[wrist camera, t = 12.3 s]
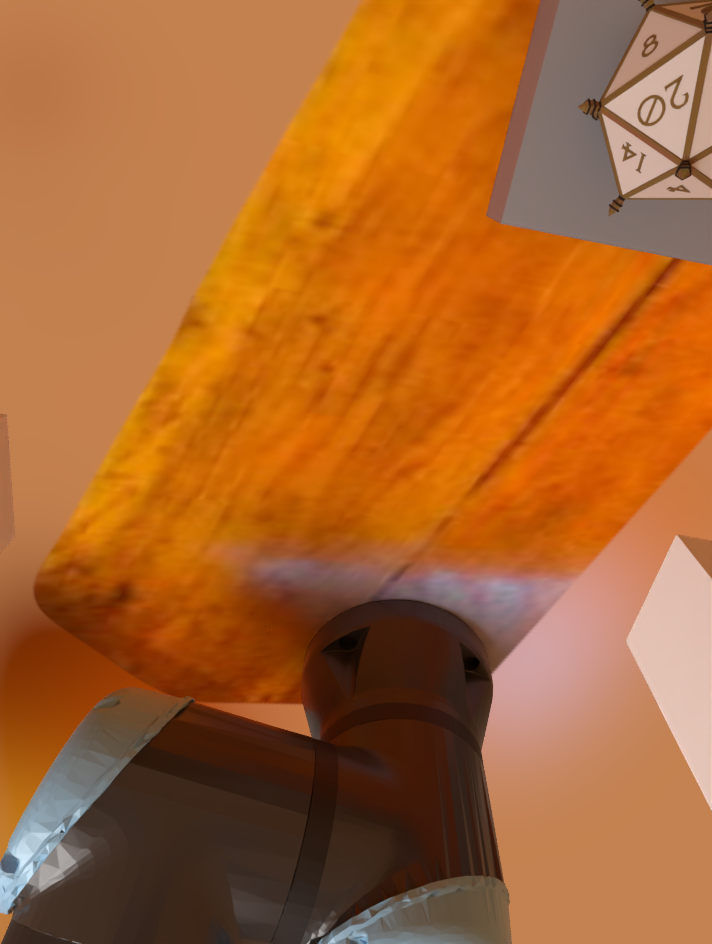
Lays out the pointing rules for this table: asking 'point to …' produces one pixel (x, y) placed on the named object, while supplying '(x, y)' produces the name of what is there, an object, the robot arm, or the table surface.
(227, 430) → the table surface
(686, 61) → the game die
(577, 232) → the gray block
